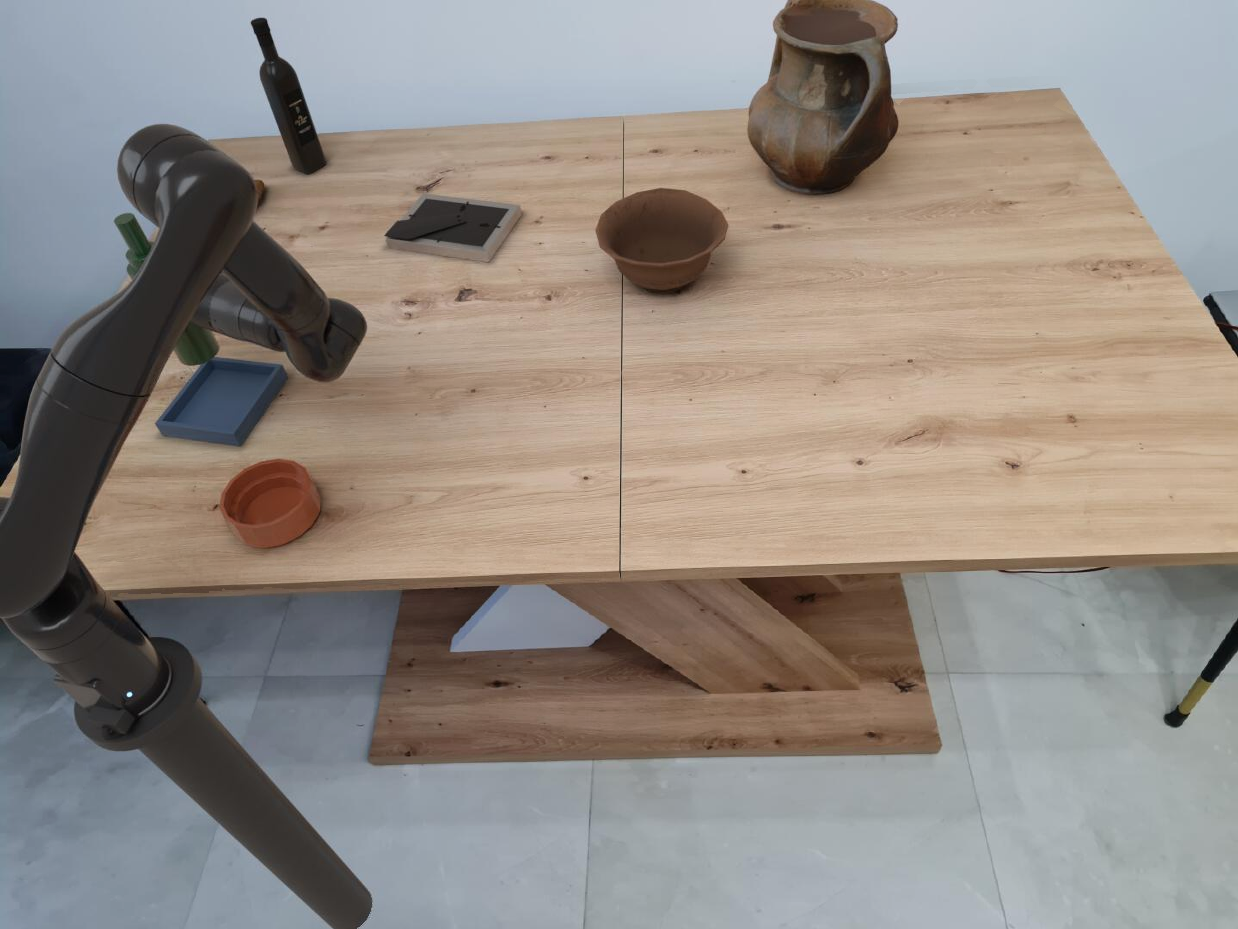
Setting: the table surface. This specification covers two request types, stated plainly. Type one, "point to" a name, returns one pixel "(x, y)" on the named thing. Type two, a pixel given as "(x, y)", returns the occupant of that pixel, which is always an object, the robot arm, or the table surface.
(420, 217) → the picture frame
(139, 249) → the green bottle
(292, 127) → the wine bottle
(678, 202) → the bowl
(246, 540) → the terracotta bowl
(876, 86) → the jug
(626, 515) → the table surface
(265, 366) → the tray
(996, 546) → the table surface
